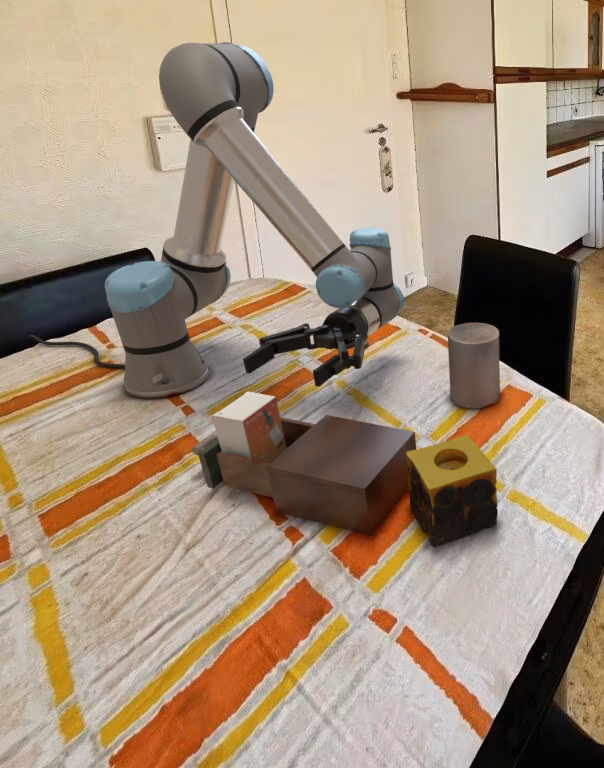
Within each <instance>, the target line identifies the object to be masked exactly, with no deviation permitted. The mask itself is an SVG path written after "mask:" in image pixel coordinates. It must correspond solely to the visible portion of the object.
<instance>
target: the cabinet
mask: <svg viewBox="0 0 604 768" xmlns="http://www.w3.org/2000/svg"><path fill="white" fill-rule="evenodd" d="M314 424H315V425H314V426H312V427H311V428H310V429H309V430H308V431H307V432H306V433H304V434H303V435H302V436H301V437H300V438H299V439H297V440H296V441H295V442H294V443H293V444H292V445H290V446H289V447H288V448H287V449H286V450H285V451H283V452H282V453H281V454H280V455H279V456H278V457H277V458H275V459H274V460H273V461H272V462H271V463H270V464H268V465H267V466H266V468H267V471H268V476H269V480H270V485H271V489H272V493H273V497H272V499H273V501H274V502H273V503H274V507H275V511H276V513H277V514H282V515H286V516H290V517H293V518H297V519H302V520H306V521H309V522H313V523H318V524H321V525H325V526H329V527H333V528H337V529H342V530H344V531H346V530H347V531H350V532H353V533H357V534H361V535H366V536H368V537H369V536H370V537H372V536H373V535H374V534H375V533H376V531H377V530H378V529H379V528H380V526H381V525H382V523H384V521H385V520H386V518H387V517H388V516H389V514H390V513H391V512H392V510H394V508H395V507H396V506H397V504H398V503H399V502H400V500H401V499H402V498H403V496H405V494H406V493H407V492H408V489H409V477H408V464H407V456H406V452H408V451H412V450H416V449H417V441H416V440H417V439H416V432H415V431H412V430H408V429H402V428H398V427H392V426H387V425H382V424H381V425H380V424H376V423H371V422H366V421H360V420H355V419H351V418H346V417H345V418H344V417H340V416H336V415H330V414H325V415H324V416H323V417H322V418H320V419H319V420H318V421H317V422H316V423H314Z"/></svg>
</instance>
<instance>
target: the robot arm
mask: <svg viewBox="0 0 604 768" xmlns="http://www.w3.org/2000/svg"><path fill="white" fill-rule="evenodd" d="M158 82H159V88H160V92H161V95H162V98H163V101H164V103H165V105H166V107H167V109H168V111H169V112H170V114H171V116H172V118H173V119H174V120H175V121H176V122H177V124H178V125H179V127H180V128H181V129H182V131H183V132H184V134H186V136H188V138H189V145H188V150H187V151H188V152H187V158H186V162H185V163H186V164H185V168H184V173H183V182H182V186H181V192H180V198H179V203H178V204H179V205H178V208H177V209H178V210H177V216H176V221H175V227H174V233H173V236H171V237H169V238H167V239H165V240H164V242H163V246H162V252H161V259H160V260H159V261H158V260H157V261H156V260H145V261H139V262H134V263H133V264H127V265H125V266H122V267H120V268H117V269H116V270H114V271H113V272H111V273H110V274H109V275H108V276H107V278H106V279H105V281H104V290H105V293H106V302H107V305H108V307H109V309H110V312H111V315H112V317H113V321H114V324H115V326H116V330H117V332H118V336H119V338H120V341H121V344H122V348H123V350H124V363H109V362H103V361H101V360H99V356H100V355H99V351H98V349H96V348H95V347H93V346H92V345H90V344H88V343H85V342H81V341H47V340H44V339H42V338H40V337H38V336H36V335H35V334H29V335H28V336H27V337H26V341H31V340H35V341H36V342H38V343H40V344H42V345H45V346H79V347H84V348H86V349H88V350H90V351H92V352H93V361H94V362H95V363H96V364H97V365H99V366H102V367H107V368H113V369H114V368H115V369H124V375H123V382H124V387H125V390H126V392H127V393H128V394H129V395H131V396H132V397H136V398H140V399H160V398H161V399H162V398H168V397H172V396H177V395H180V394H183V393H186V392H188V391H191V390H193V389H195V388H197V387H199V386H200V385H201V384H203V383H204V382H205V381H206V380H207V379H208V377H209V375H210V372H209V366H208V364H207V362H206V360H205V358H203V356H202V355H201V353H200V351H199V350H198V349H197V347H196V346H195V344H194V343H193V342H192V340H191V338H190V334H189V329H188V326H187V323H186V320H187V319H188V318H190V317H192V316H193V315H195V314H197V313H199V312H200V311H202V310H203V309H205V308H207V307H208V306H210V305H212V304H214V303H216V302H217V301H218V300H220V298H221V297H223V295H224V294H225V293H226V292H227V291H228V289H229V286H230V284H231V279H232V278H231V269H230V267H228V266H227V255H226V253H225V251H224V250H223V249H222V248H221V245H222V241H223V236H224V232H225V227H226V221H227V218H228V212H229V208H230V204H231V199H232V193H233V189H234V184H235V183H236V184H237V186H239V187H240V189H241V190H242V191H243V192H244V193H245V195H246V196H247V198H249V199H250V200H251V202H252V203H253V204H254V205H255V206H256V208H257V209H258V210H259V212H261V213H262V214H263V215H264V217H265V218H266V220H268V221H269V222H270V224H271V225H272V226H273V227H274V228H275V230H276V231H277V232H278V233H279V234H280V236H281V237H282V238H283V240H285V241H286V242H287V244H288V245H289V246H290V247H291V249H293V251H294V252H295V253H296V254H297V255H298V256H299V258H300V259H301V260H302V261H303V262H304V263H305V265H306V266H307V267H308V268H309V270H311V272H312V274H314V276H315V277H316V280H315V289H316V292H317V296H318V297H319V298H320V300H321V301H322V302H323V303H324V304H326V305H328V306H330V307H332V308H335V310H334V311H331V312H330V313H328V315H327V316H326V317H325V318H324V321H323V323H322V324H321V325H319V326H316V327H315V328H312V327H310V324H309V323H305V322H304V323H302V324H301V325H298V326H296V327H293V328H290V329H286V330H283V331H279V332H276V333H273V334H269V335H266V336H262V337H259V338H258V342H259V346H260V347H258V348H257V349H255V350H253V351H252V352H251V353H250V354H248V355H246V356H244V357H243V358H242V362H243V365H244V371H245V374H252V373H253V372H254V371H255V372H256V370H258V369H259V368H261V367H262V366H264V365H265V364H267V363H269V362H270V361H272V360H273V359H275V358H276V355H280V354H286V353H289V352H294V351H298V350H299V351H300V350H304V349H307V350H309V351H311V350H316V349H325V350H330V351H332V350H336V352H337V354H334V355H333V356H331V357H330V358H329V359H327V360H326V361H325V362H323V363H322V364H321V365H319V366H317V367H316V368H315V369H313V370H312V376H313V380H314V386H315V387H321V386H322V385H324V384H325V383H326V382H327V381H329V380H330V379H331V378H333V376H336V375H339V374H340V373H341V372H343V371H344V370H348V369H350V368H351V367H354V369H355V370H360V369H362V367H363V361H364V356H365V352H366V349H367V348H369V346H370V344H369V336H371V335H372V334H373V333H375V332H376V331H378V330H379V329H381V328H382V327H384V326H385V325H386V324H388V323H389V322H391V321H393V320H394V319H396V317H397V316H398V315H399V314H400V313H401V311H403V309H404V305H405V295H404V294H403V292H402V291H401V288H400V287H399V286H398V285H397V284H395V283H394V276H393V264H392V262H393V261H392V252H391V251H392V247H391V242H390V237H389V232H387V230H385V229H382V228H379V227H363V228H358V229H355V230H353V231H351V232H350V233H349V247H350V248H349V247H347V245H346V244H345V243H344V242H343V241H342V239H341V238H340V237H339V235H338V234H337V233H336V232H335V230H333V228H332V227H331V226H330V225H329V224H328V222H327V221H326V219H325V218H324V217H323V216H322V215H321V214H320V212H319V211H318V209H316V207H315V206H314V205H313V204H312V203H311V202H310V200H309V199H308V198H307V196H306V195H305V194H304V193H303V192H302V190H301V189H300V187H298V186H297V185H298V184H296V183H295V181H294V179H292V178H291V177H290V175H289V174H288V173H287V172H286V170H285V169H284V168H283V166H282V165H281V164H280V163H279V162H278V161H277V159H276V158H275V157H274V156H273V154H272V153H271V152H270V151H269V149H268V148H267V147H266V146H265V144H264V143H263V142H262V141H261V139H260V138H259V137H258V136H257V135H256V133H255V130H256V125H257V121H258V117H259V114H261V113H263V112H264V111H266V109H267V108H268V107H269V106H270V104H271V103H272V101H273V97H274V93H275V92H274V81H273V77H272V74H271V72H270V70H269V68H268V66H267V64H266V62H265V61H264V60H263V58H262V57H261V56H259V55H258V54H257V52H255V51H254V50H252V49H251V48H249V47H247V46H244V45H241V44H236V43H233V42H227V41H223V42H219V43H216V42H215V43H214V42H213V43H212V42H211V43H210V42H209V43H205V42H204V43H200V42H185V43H181V44H178V45H176V46H174V47H173V48H171V49H170V50H169V51H168V52H167V53H166V54H165V55H164V57H163V58H162V61H161V63H160V66H159V73H158ZM311 337H312V339H313V343H312V341H311ZM351 349H353V352H352V355H350V354H349V350H351Z"/></svg>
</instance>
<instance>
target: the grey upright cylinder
mask: <svg viewBox="0 0 604 768" xmlns="http://www.w3.org/2000/svg"><path fill="white" fill-rule="evenodd" d="M447 349H448V350H447V351H448V352H447V353H448V373H449V375H448V376H449V396H450V400H451V402H452V403H453V404H455V405H457V406H458V407H461V408H466V409H481V408H485V407H487V406H490V405H492V404H495V403H496V402H498V401H499V398H500V396H501V394H500V392H501V391H500V390H501V381H500V380H501V379H500V377H501V376H500V375H501V374H500V372H501V371H500V330H499V329H498V328H497V327H495V326H494V325H491V324H489V323H484V322H466V323H460V324H457V325H454V326H452V327H451V328H449V330H448V331H447Z"/></svg>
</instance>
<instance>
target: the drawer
mask: <svg viewBox="0 0 604 768" xmlns="http://www.w3.org/2000/svg"><path fill="white" fill-rule="evenodd" d="M280 418H281V423H282V428H283V433H284V438H285V443H286V448H288V447H289V446H290V445H292V444H293V443H294V442H295V441H296V440H297V439H299V438H300V437H301V436H302V435H303V434H304V433H306V432H307V431H308V430H309V429H310V428H311V427H312V426H314V425H315V424H316V423H311V422H306V421H302V420H298V419H292V418H287V417H282V416H280ZM191 452H192V453H193V454H194V455H195V456H198V459H199V462H200V466H201V469H202V473H203V475H204V479H205V483H206V486H207V488H209V489H212V490H214V489H216V488H217V487H218V486H220V485H221V484H222V483H223V484H224V486H225V487H228V488H232V489H236V490H240V491H245V492H249V493H253V494H257V495H261V496H265V497H269V498H273V493H272V489H271V485H270V480H269V476H268V471H267V468H266V466H267V465H268V464H270V463H267V462H263V461H258V460H254V459H250V458H245V457H241V456H236V455H232V454H227V453H223V452H222V451H221V447H220V443H219V440H218V436H217V432H216V430H214V431H213V432H211V433H210V434H209V435H207V436H206V437H205V438H203V439H202V440H201V441H198V443H196V444H195V445H193V446H192V447H191Z"/></svg>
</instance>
